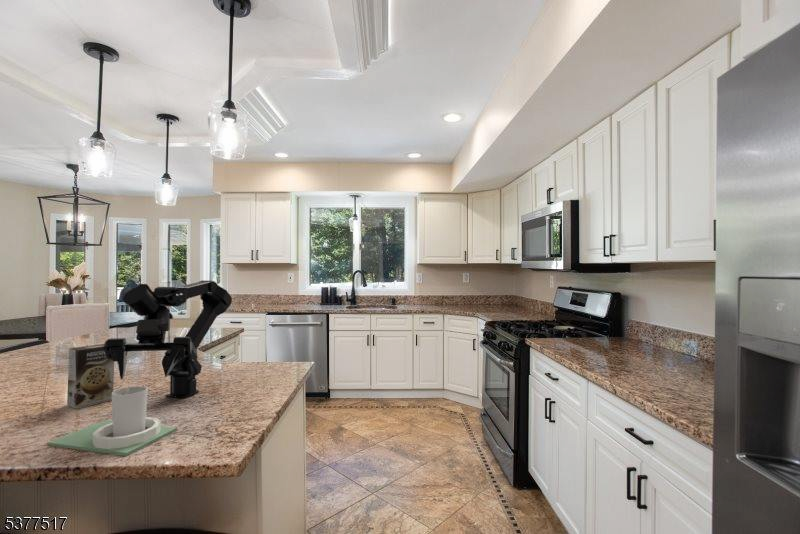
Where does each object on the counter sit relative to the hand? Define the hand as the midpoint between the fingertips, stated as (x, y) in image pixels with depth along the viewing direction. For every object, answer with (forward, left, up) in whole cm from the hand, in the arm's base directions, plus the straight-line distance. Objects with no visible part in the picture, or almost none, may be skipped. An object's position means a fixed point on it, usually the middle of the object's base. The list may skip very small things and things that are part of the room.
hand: (144, 377), depth 93 cm
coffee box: (-28, +10, -12) cm, 32 cm away
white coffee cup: (+4, -7, -11) cm, 14 cm away
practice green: (0, -7, -12) cm, 14 cm away
